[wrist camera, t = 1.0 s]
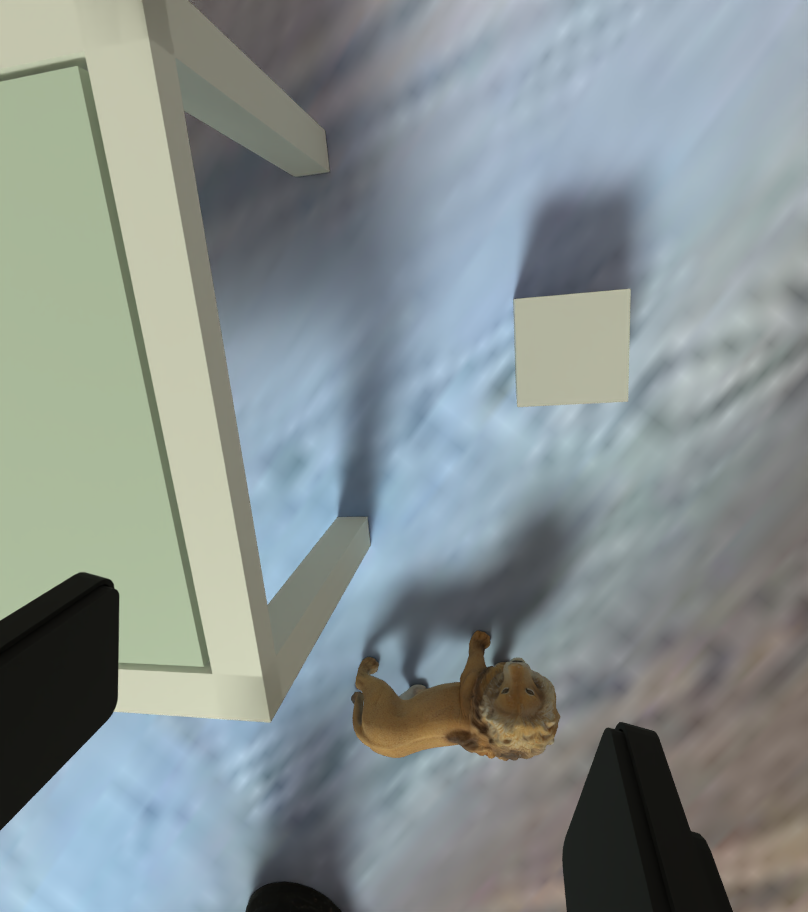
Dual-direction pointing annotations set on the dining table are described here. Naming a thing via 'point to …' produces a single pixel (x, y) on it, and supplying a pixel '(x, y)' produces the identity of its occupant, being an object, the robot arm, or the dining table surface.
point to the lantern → (289, 899)
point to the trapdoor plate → (80, 384)
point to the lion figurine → (459, 710)
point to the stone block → (572, 348)
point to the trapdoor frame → (193, 325)
